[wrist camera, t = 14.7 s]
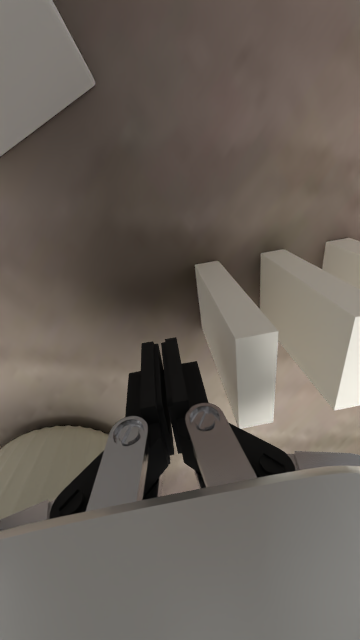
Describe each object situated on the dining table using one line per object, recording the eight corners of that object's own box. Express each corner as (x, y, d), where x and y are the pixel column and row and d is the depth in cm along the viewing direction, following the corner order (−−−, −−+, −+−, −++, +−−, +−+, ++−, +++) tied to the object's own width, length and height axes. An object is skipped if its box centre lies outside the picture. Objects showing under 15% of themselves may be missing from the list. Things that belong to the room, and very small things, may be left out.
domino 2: (260, 253, 17) (355, 317, 9) (283, 249, 17) (397, 309, 10) (259, 317, 20) (334, 410, 12) (280, 313, 20) (367, 403, 12)
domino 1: (194, 264, 17) (235, 339, 9) (218, 260, 17) (278, 331, 9) (201, 328, 20) (239, 429, 12) (222, 324, 20) (273, 422, 12)
